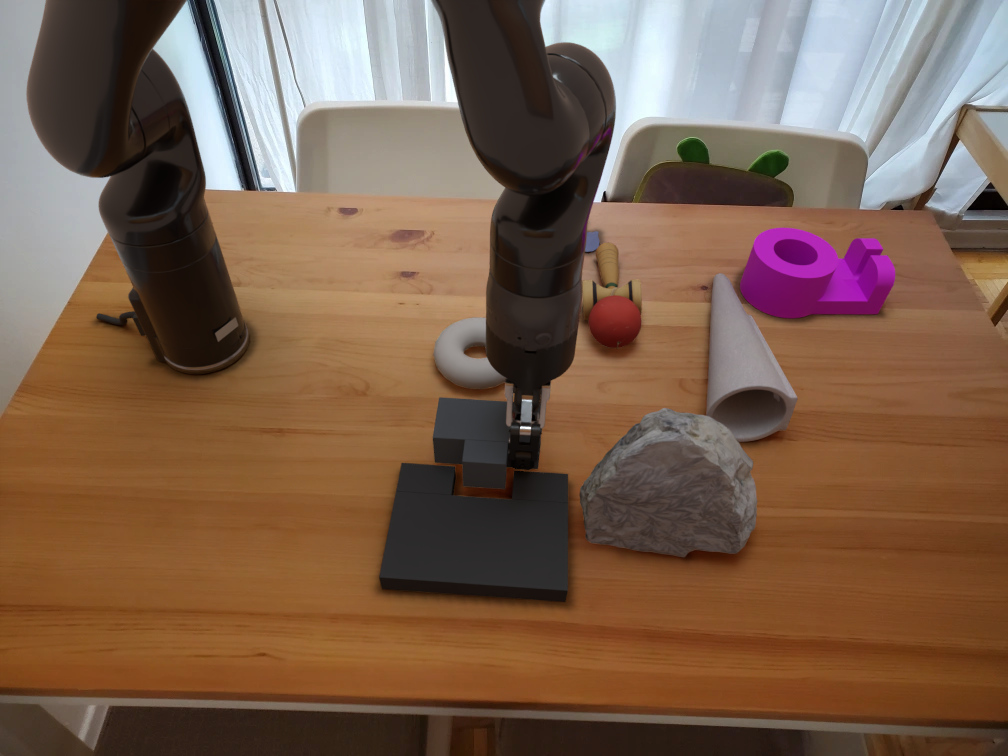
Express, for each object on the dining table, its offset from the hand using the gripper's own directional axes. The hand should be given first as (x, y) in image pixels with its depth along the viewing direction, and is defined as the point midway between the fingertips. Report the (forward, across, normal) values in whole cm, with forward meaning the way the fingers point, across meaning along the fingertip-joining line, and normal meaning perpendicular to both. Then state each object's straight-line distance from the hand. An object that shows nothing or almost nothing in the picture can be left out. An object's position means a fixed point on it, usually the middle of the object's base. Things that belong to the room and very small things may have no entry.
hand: (523, 442), depth 70 cm
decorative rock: (+3, +7, +13) cm, 15 cm away
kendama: (+3, -24, +9) cm, 26 cm away
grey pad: (+1, +1, -3) cm, 4 cm away
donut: (+3, -13, -6) cm, 15 cm away
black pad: (+3, +9, -4) cm, 10 cm away
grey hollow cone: (+3, -17, +22) cm, 28 cm away
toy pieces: (+3, -37, +3) cm, 38 cm away
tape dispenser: (+3, -29, +34) cm, 45 cm away
